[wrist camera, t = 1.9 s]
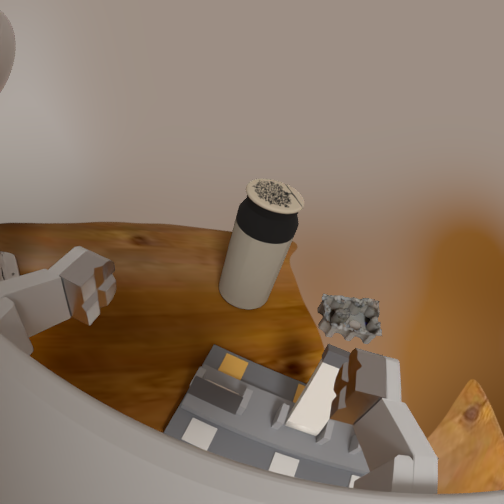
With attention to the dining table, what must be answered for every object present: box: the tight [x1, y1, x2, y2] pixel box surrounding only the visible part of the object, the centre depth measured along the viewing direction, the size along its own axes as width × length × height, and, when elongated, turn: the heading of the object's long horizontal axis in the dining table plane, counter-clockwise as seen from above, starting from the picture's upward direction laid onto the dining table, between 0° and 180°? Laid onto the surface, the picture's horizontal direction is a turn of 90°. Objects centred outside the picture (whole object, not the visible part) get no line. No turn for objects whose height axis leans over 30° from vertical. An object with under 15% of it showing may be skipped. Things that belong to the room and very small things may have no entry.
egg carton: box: [318, 294, 382, 344], centre depth 49 cm, size 11×8×4 cm
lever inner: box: [187, 376, 244, 415], centre depth 28 cm, size 2×4×11 cm, turn 70°
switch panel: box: [164, 344, 370, 488], centre depth 32 cm, size 14×27×5 cm, turn 70°
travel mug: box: [219, 179, 304, 309], centre depth 45 cm, size 8×8×18 cm
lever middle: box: [285, 344, 350, 436], centre depth 31 cm, size 2×4×11 cm, turn 70°
